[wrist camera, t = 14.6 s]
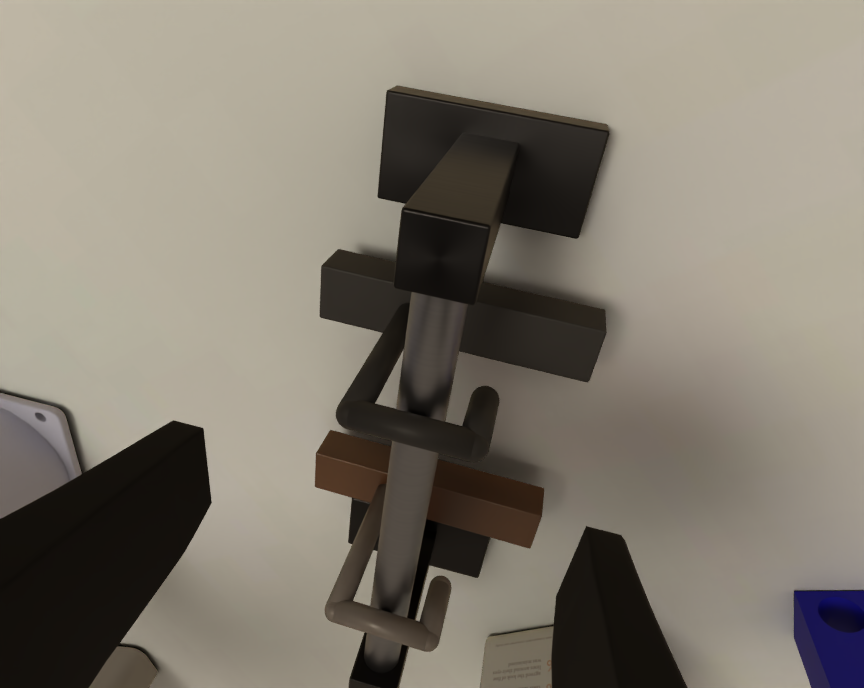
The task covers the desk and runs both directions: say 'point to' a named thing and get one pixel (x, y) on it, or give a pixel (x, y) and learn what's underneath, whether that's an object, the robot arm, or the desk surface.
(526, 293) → the black hanger
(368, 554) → the walnut hanger
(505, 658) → the small box
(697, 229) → the desk surface
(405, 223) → the rail stand
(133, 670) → the power adapter
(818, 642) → the blue curved cradle bracket
